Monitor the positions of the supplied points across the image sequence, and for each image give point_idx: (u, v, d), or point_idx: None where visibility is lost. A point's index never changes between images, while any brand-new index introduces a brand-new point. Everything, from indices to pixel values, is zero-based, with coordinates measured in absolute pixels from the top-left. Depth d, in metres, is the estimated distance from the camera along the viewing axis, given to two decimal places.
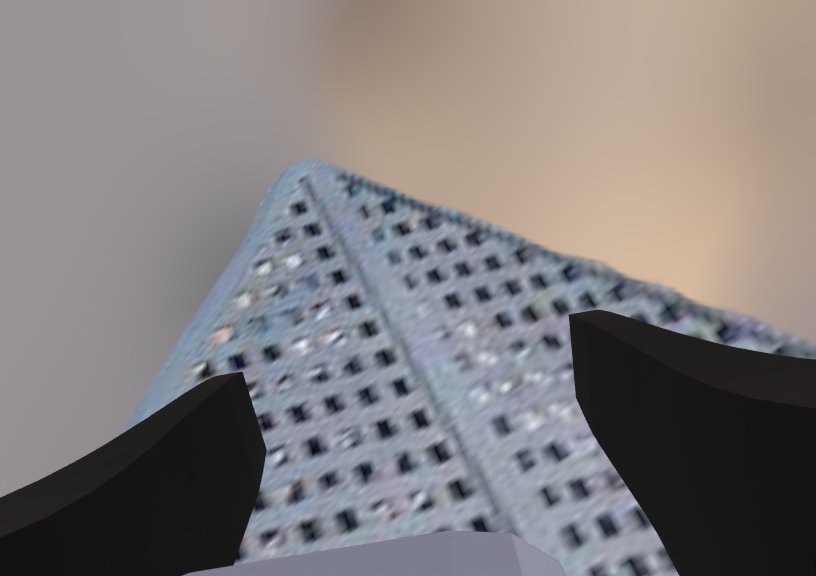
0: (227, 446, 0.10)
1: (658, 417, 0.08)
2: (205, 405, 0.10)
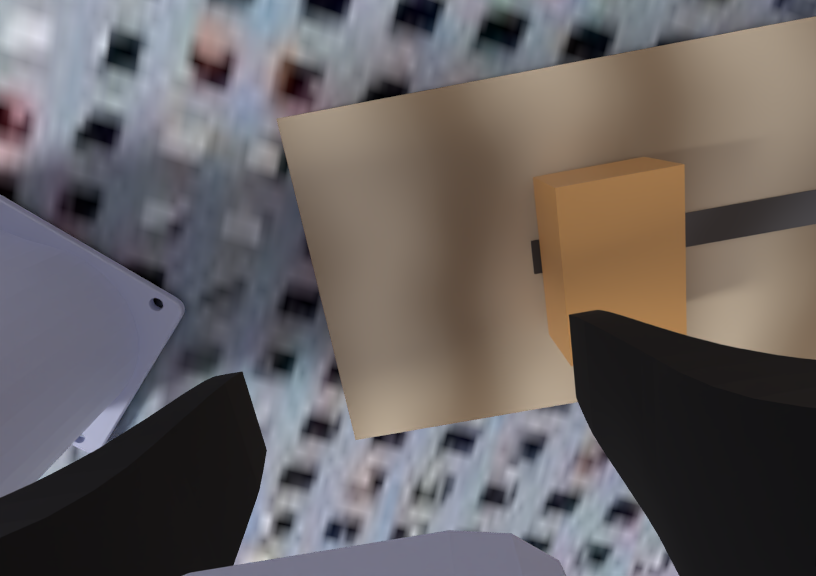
0: (227, 446, 0.10)
1: (658, 417, 0.08)
2: (205, 405, 0.10)
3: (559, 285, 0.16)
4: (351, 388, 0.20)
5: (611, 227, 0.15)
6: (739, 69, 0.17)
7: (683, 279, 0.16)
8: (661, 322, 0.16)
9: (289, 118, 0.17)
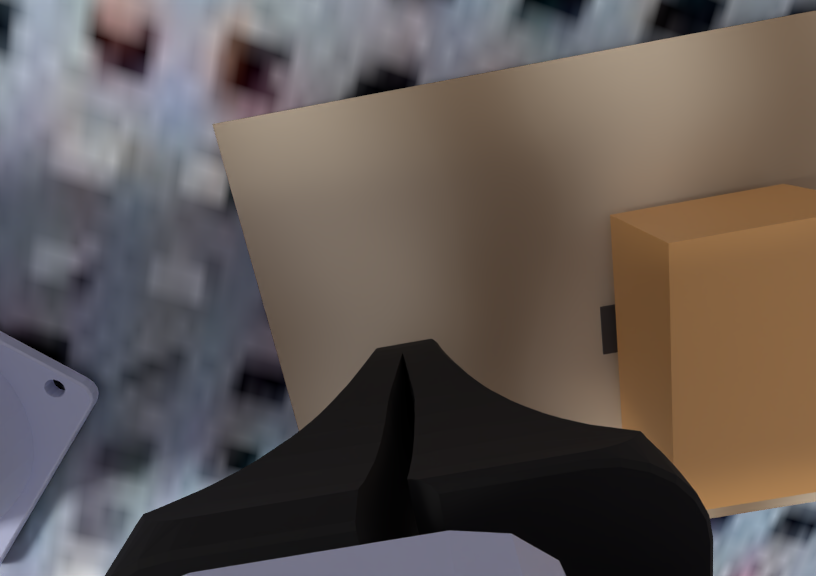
0: (410, 415, 0.10)
1: None
2: (398, 371, 0.09)
3: (659, 390, 0.10)
4: None
5: (757, 306, 0.09)
6: None
7: None
8: None
9: (232, 123, 0.11)
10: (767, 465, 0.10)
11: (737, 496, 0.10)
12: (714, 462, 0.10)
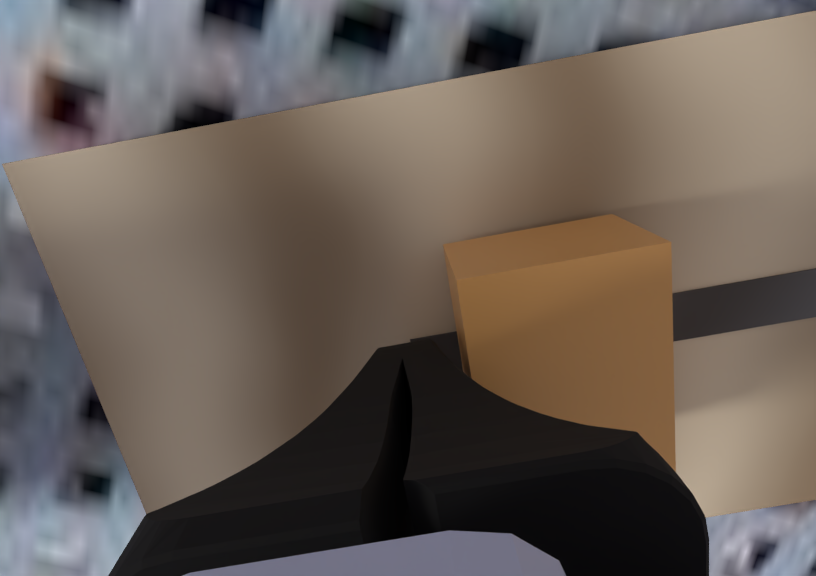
0: (411, 414, 0.10)
1: None
2: (400, 371, 0.09)
3: None
4: None
5: (552, 341, 0.09)
6: (715, 89, 0.11)
7: (671, 418, 0.10)
8: None
9: (22, 163, 0.11)
10: None
11: None
12: None
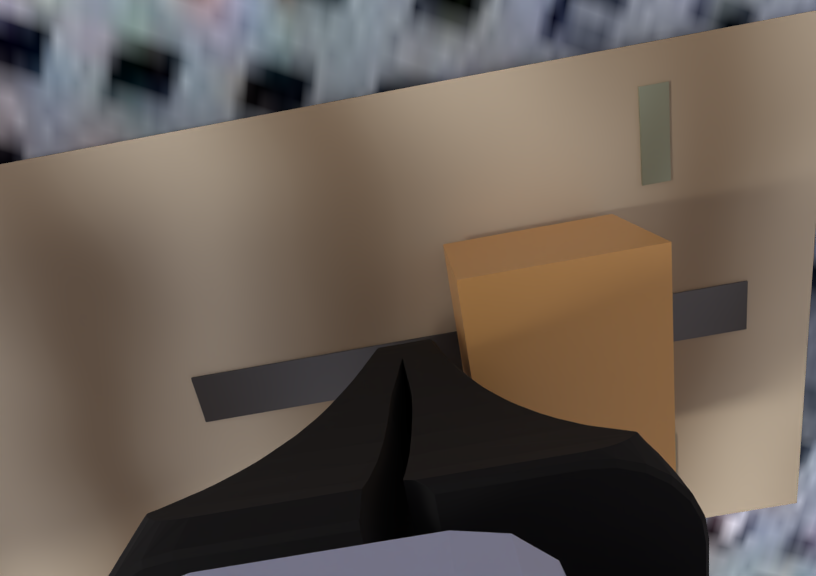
0: (411, 414, 0.10)
1: None
2: (400, 371, 0.09)
3: None
4: None
5: (552, 341, 0.09)
6: (462, 136, 0.11)
7: (671, 418, 0.10)
8: None
9: None
10: None
11: None
12: None
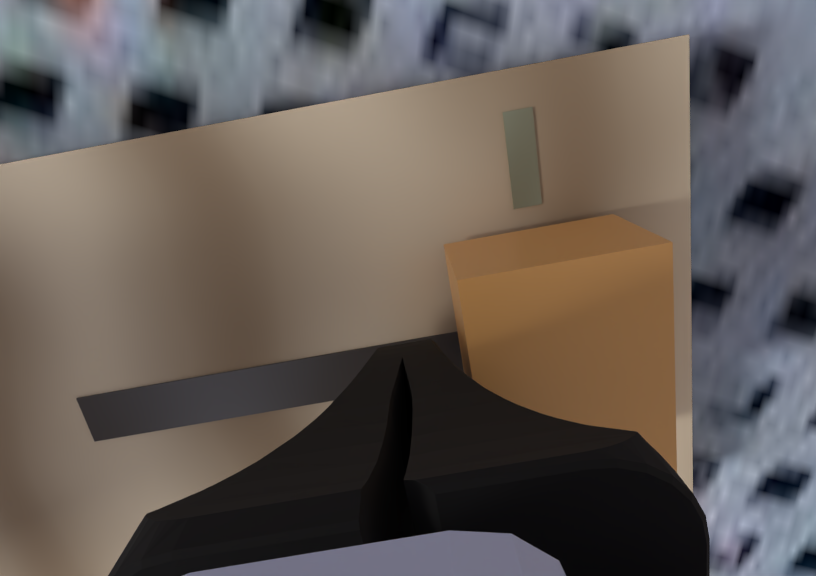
0: (411, 415, 0.10)
1: None
2: (400, 371, 0.09)
3: None
4: None
5: (554, 341, 0.09)
6: (330, 160, 0.11)
7: (672, 418, 0.10)
8: None
9: None
10: None
11: None
12: None
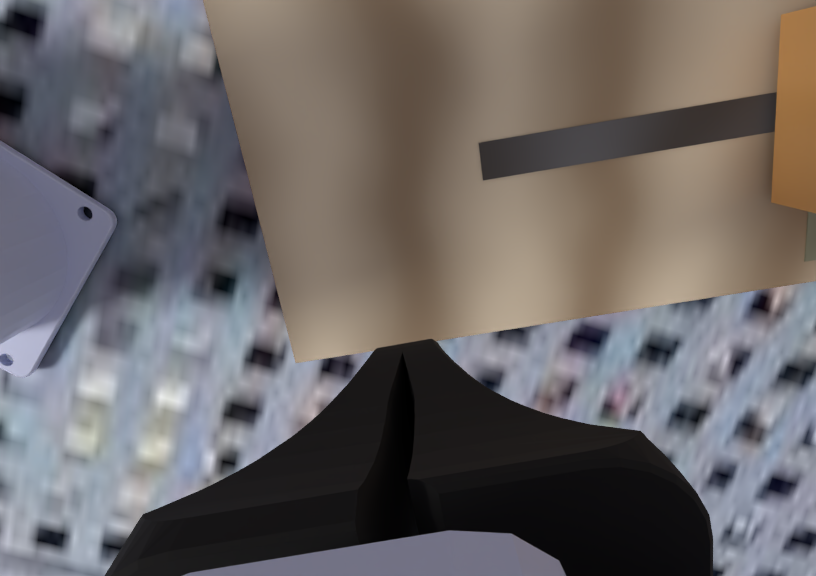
0: (410, 415, 0.10)
1: None
2: (398, 371, 0.09)
3: None
4: (289, 305, 0.19)
5: None
6: None
7: None
8: None
9: None
10: None
11: None
12: None
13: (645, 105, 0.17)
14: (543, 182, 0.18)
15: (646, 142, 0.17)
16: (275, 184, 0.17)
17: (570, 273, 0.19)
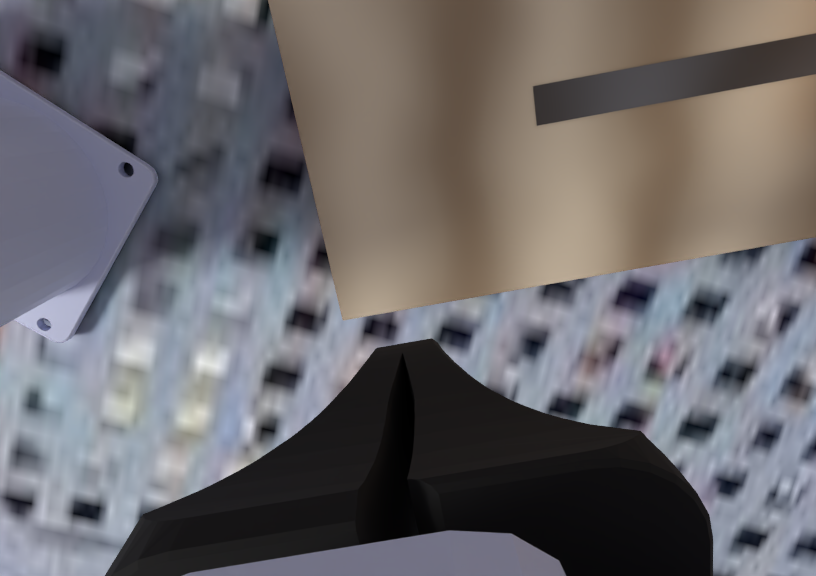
0: (410, 415, 0.10)
1: None
2: (398, 372, 0.09)
3: None
4: (337, 259, 0.18)
5: None
6: None
7: None
8: None
9: None
10: None
11: None
12: None
13: (703, 44, 0.16)
14: (598, 127, 0.17)
15: (703, 83, 0.17)
16: (325, 132, 0.17)
17: (623, 222, 0.18)
